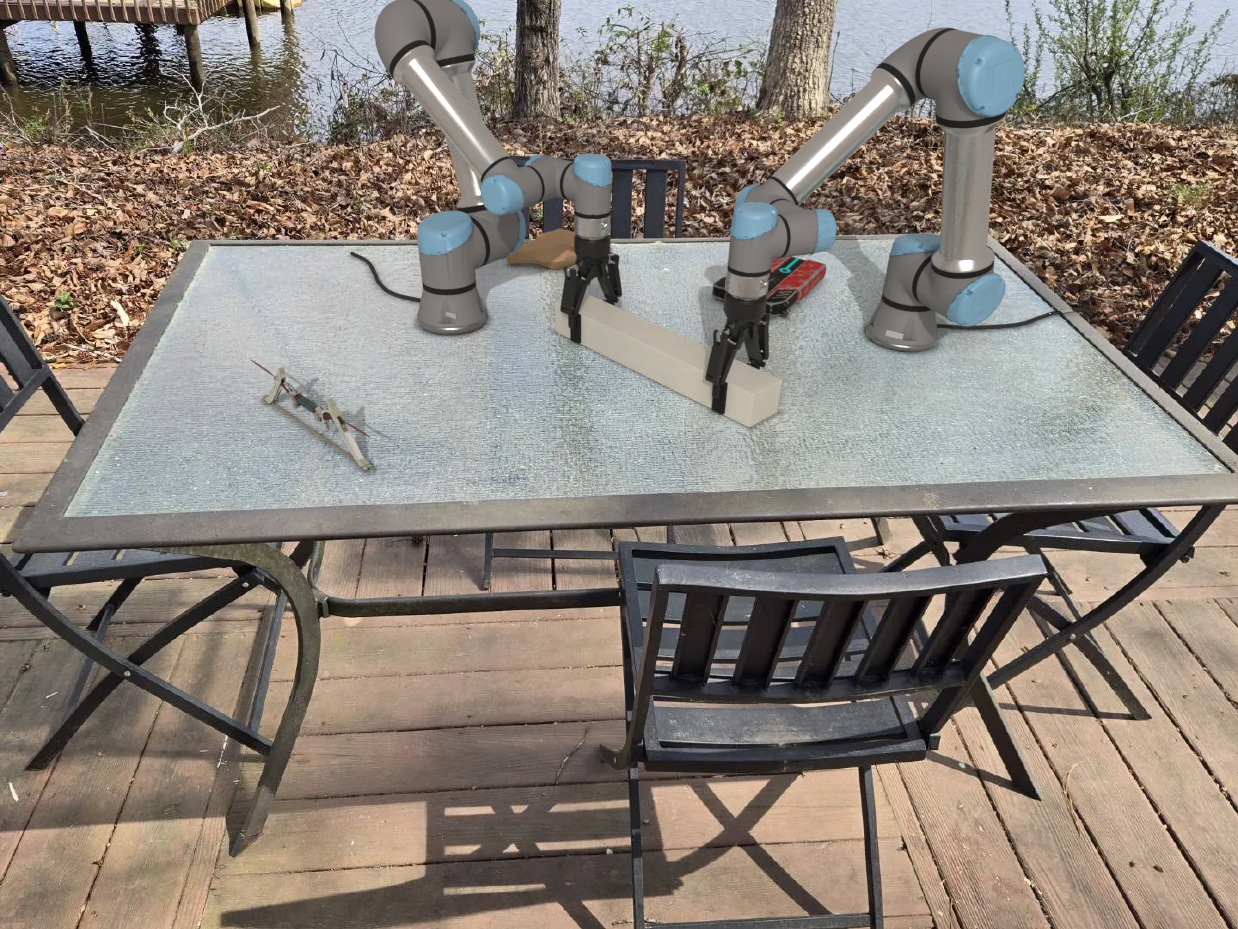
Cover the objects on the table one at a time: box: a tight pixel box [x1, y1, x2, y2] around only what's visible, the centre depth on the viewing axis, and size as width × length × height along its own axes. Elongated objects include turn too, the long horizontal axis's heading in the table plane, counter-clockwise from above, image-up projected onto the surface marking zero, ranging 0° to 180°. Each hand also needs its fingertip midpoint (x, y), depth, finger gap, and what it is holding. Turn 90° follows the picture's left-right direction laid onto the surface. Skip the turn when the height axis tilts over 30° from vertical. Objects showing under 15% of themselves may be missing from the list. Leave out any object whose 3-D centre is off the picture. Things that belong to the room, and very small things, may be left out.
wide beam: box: [554, 292, 783, 428], centre depth 179 cm, size 55×9×7 cm, turn 44°
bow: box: [250, 359, 373, 471], centre depth 154 cm, size 39×2×10 cm, turn 47°
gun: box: [711, 256, 827, 318], centre depth 215 cm, size 4×31×19 cm
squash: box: [505, 227, 577, 270], centre depth 225 cm, size 11×20×9 cm, turn 90°
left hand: (591, 334), depth 192 cm, fingers closed on wide beam, 9 cm apart
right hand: (733, 403), depth 168 cm, fingers closed on wide beam, 8 cm apart
